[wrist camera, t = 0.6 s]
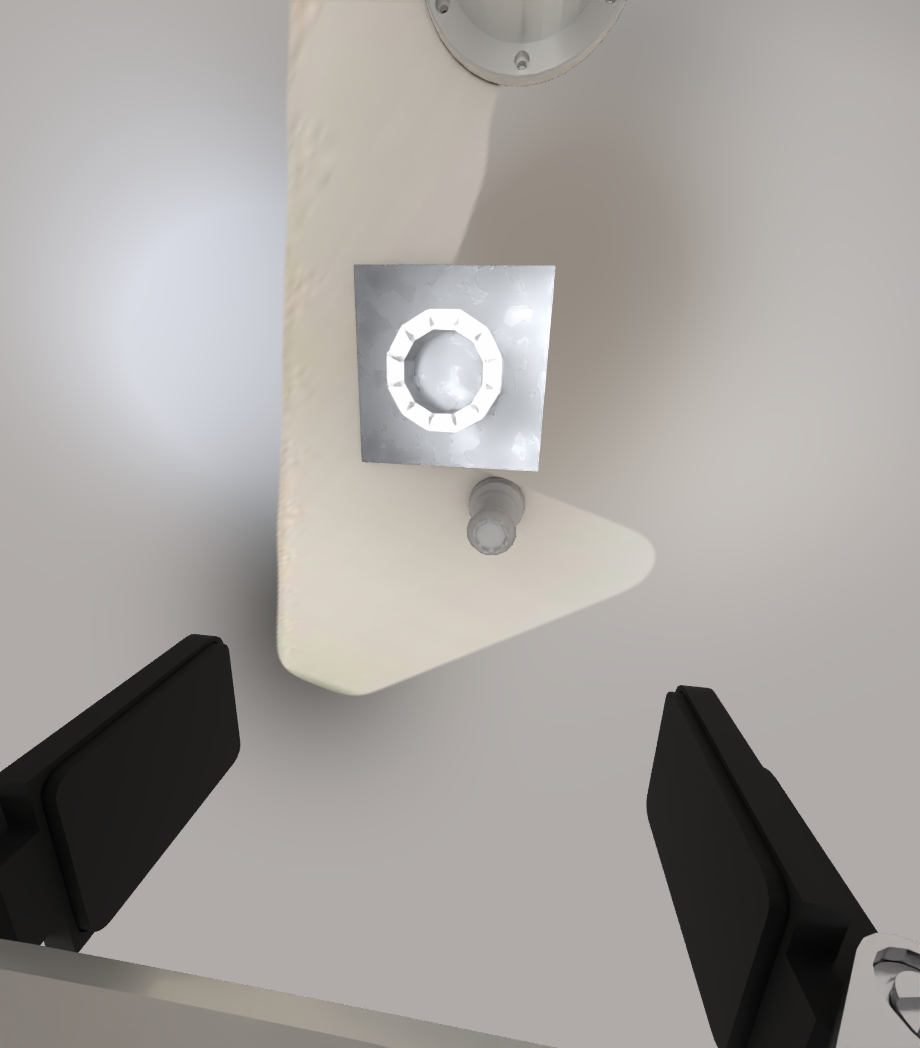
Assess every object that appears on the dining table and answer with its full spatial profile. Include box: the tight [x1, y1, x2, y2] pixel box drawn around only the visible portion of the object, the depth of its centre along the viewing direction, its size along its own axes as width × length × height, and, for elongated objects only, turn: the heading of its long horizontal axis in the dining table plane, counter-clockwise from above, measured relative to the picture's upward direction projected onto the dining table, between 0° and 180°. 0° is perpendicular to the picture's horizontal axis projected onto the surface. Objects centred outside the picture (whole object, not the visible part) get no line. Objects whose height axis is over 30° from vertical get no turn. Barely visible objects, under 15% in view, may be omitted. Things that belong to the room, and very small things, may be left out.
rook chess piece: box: [467, 478, 524, 555], centre depth 33 cm, size 4×4×8 cm
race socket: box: [354, 265, 556, 471], centre depth 32 cm, size 14×14×4 cm
